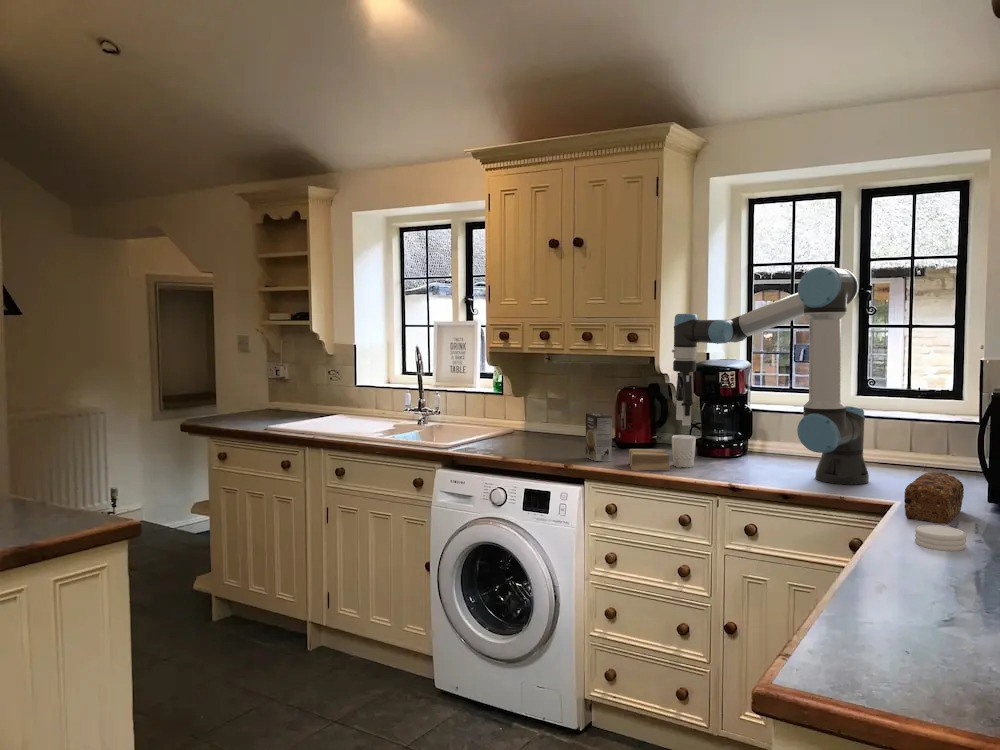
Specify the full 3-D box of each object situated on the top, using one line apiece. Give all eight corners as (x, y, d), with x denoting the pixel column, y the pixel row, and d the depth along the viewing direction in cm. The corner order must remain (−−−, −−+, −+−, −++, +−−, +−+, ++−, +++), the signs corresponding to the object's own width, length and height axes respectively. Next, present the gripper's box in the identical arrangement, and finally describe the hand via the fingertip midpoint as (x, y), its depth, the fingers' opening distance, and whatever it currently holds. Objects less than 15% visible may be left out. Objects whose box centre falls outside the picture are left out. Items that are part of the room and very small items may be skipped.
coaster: (970, 554, 173) (970, 538, 173) (918, 549, 176) (918, 533, 176) (961, 541, 182) (961, 526, 182) (911, 537, 186) (912, 522, 186)
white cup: (695, 468, 269) (696, 438, 268) (671, 467, 271) (671, 438, 270) (694, 464, 277) (695, 435, 276) (671, 463, 278) (671, 434, 278)
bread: (920, 505, 217) (921, 468, 216) (965, 511, 210) (967, 473, 209) (901, 519, 203) (902, 479, 202) (949, 526, 196) (950, 485, 195)
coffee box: (584, 457, 290) (585, 413, 289) (601, 456, 292) (601, 412, 291) (595, 462, 281) (595, 416, 280) (612, 461, 283) (612, 415, 282)
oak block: (669, 470, 265) (669, 455, 265) (632, 470, 266) (632, 454, 266) (664, 464, 277) (664, 449, 277) (628, 463, 278) (629, 448, 278)
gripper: (668, 357, 284) (666, 417, 286) (679, 362, 259) (677, 427, 261) (690, 357, 283) (688, 417, 285) (702, 362, 259) (701, 428, 260)
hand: (683, 422), depth 273 cm, fingers open, 13 cm apart
